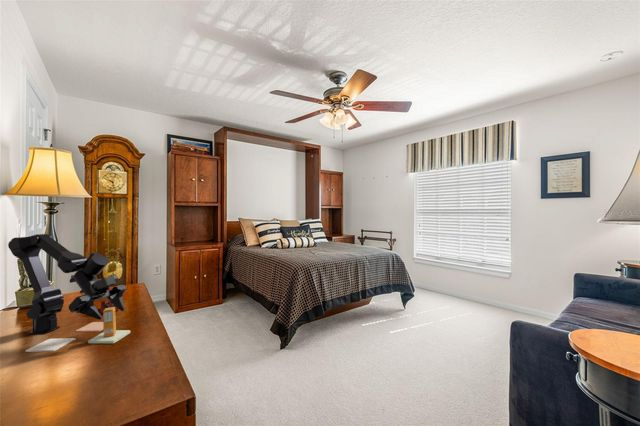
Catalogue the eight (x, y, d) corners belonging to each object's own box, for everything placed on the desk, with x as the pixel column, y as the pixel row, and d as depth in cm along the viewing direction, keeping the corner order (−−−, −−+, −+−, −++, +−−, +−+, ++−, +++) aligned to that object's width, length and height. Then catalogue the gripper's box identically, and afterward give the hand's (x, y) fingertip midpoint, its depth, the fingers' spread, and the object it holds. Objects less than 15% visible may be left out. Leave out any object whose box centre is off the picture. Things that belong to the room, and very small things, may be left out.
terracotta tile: (75, 333, 110) (75, 330, 110) (92, 324, 119) (92, 322, 119) (99, 332, 111) (99, 330, 111) (114, 324, 120) (114, 321, 120)
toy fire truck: (100, 315, 128) (100, 292, 128) (100, 308, 138) (100, 287, 138) (119, 312, 132) (119, 290, 132) (118, 305, 142) (118, 285, 142)
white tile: (25, 353, 94) (25, 350, 94) (49, 341, 103) (49, 338, 103) (54, 352, 95) (54, 349, 95) (75, 340, 104) (75, 338, 104)
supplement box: (105, 334, 106) (105, 307, 106) (116, 332, 107) (116, 306, 107) (102, 337, 103) (102, 310, 103) (113, 336, 104) (114, 309, 104)
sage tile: (88, 343, 101) (88, 340, 101) (106, 332, 110) (107, 330, 110) (113, 343, 101) (113, 340, 101) (130, 332, 110) (130, 330, 110)
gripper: (75, 274, 97) (101, 308, 95) (123, 264, 115) (146, 293, 113) (57, 295, 99) (82, 329, 96) (107, 282, 117) (129, 311, 115)
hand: (112, 314), depth 105 cm, fingers open, 9 cm apart
